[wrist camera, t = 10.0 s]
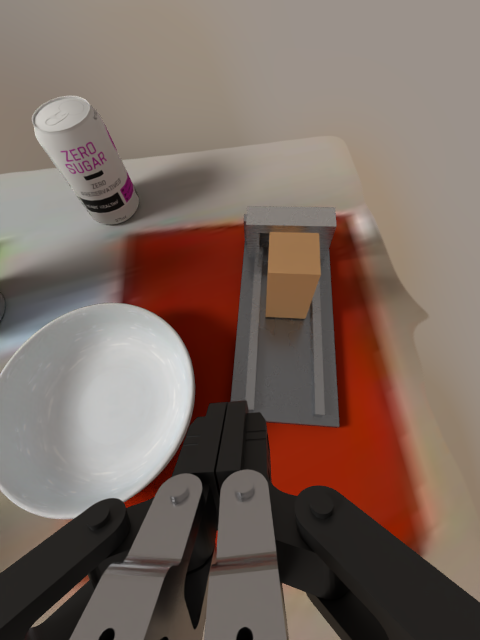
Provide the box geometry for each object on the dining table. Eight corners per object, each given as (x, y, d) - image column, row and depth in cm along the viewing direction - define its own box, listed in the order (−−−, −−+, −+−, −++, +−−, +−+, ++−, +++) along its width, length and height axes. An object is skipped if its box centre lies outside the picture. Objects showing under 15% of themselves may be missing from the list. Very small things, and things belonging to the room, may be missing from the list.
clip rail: (336, 427, 33) (357, 421, 26) (230, 419, 34) (222, 411, 27) (326, 241, 43) (339, 201, 36) (245, 239, 44) (243, 200, 37)
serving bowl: (231, 456, 32) (224, 457, 26) (41, 541, 30) (-16, 565, 24) (176, 303, 40) (161, 276, 34) (25, 360, 38) (-21, 342, 32)
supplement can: (117, 183, 51) (65, 85, 37) (150, 203, 49) (108, 105, 35) (81, 213, 48) (12, 120, 35) (115, 235, 46) (55, 143, 32)
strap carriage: (305, 318, 37) (320, 274, 28) (265, 316, 37) (267, 273, 28) (304, 242, 42) (317, 183, 32) (269, 241, 42) (271, 183, 33)
